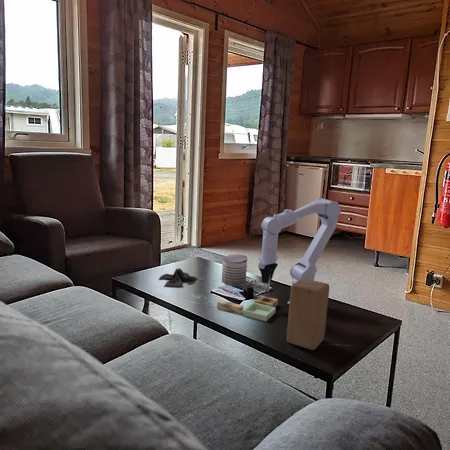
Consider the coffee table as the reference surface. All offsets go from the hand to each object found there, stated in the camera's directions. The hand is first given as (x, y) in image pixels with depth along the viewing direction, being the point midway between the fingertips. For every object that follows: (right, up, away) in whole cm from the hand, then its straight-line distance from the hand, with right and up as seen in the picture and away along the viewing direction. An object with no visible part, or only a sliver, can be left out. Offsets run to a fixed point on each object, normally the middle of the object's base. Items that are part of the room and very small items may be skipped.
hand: (266, 282), depth 164 cm
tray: (-4, -11, -6) cm, 13 cm away
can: (-12, -4, +30) cm, 33 cm away
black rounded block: (-7, -8, +14) cm, 17 cm away
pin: (0, -4, +1) cm, 4 cm away
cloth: (-36, -4, +29) cm, 47 cm away
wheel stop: (-15, -10, -3) cm, 18 cm away
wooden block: (+10, -16, -26) cm, 32 cm away
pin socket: (0, -10, +3) cm, 10 cm away
